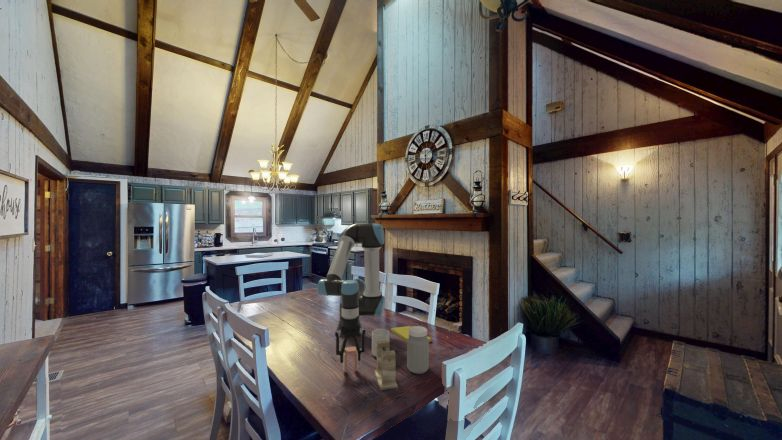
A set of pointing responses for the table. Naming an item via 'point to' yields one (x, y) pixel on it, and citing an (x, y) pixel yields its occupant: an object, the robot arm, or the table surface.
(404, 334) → the yellow rectangular slab
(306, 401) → the table surface
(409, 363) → the jar
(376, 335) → the mug
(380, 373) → the tan blocky piece
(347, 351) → the orange piece
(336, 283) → the robot arm
